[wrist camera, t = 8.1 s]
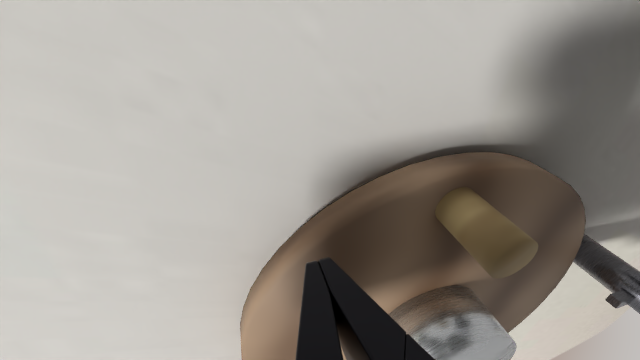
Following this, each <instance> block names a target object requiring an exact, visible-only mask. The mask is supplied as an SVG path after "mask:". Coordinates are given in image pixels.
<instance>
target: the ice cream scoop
mask: <svg viewBox="0 0 640 360" xmlns="http://www.w3.org/2000/svg"><path fill="white" fill-rule="evenodd" d="M573 262H574V263H575V264H577V265H578V266H579V267H581V268H582V269H583V270H584V271H586V272H587V273H588V274H589V275H591V276H592V277H593V278H595V279H596V280H597V281H598V282H600V283H601V284H602V285H604V286H605V287H606V288H607V289H609V290H610V291H611V292H613V293H612V294H610V295H609V296H608V297H607V298H606V301H607V302H608V303H610V304H611V305H612V306H613V307H615V308H619V307H621V306H624V305H627V304H628V305H629V306H630V307H632V308H633V309H634V310H636V311H637V312H638V313H639V314H640V271H638V270H637V269H635V268H634V267H632V266H631V265H629V264H628V263H626V262H625V261H624V260H622V259H621V258H619V257H618V256H616V255H615V254H613V253H612V252H610V251H609V250H607V249H606V248H604V247H603V246H601V245H600V244H599V243H597V242H596V241H594V240H593V239H591V238H590V237H588V236H587V235H585V234H584V235H583V239H582V242H581V245H580V248H579V250H578V252H577V254H576V256H575V259H574V261H573Z"/></svg>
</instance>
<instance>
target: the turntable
mask: <svg viewBox="0 0 640 360" xmlns="http://www.w3.org/2000/svg"><path fill="white" fill-rule="evenodd" d="M585 222H586V219H585V209H584V206H583V203H582V201H581V198H580V196H579V195H578V194H577V192H576V191H575V190H574V189H573V188H572V186H571V185H569V184H567V183H566V182H564V181H563V180H561V179H560V178H558V177H557V176H555V175H553V174H551V173H549V172H548V171H546V170H544V169H542V168H541V167H539V166H537V165H535V164H533V163H532V162H530V161H527V160H525V159H522V158H519V157H516V156H513V155H508V154H501V153H494V152H467V153H460V154H454V155H447V156H441V157H436V158H433V159H429V160H426V161H422V162H418V163H415V164H411V165H408V166H406V167H403V168H401V169H398V170H396V171H393V172H390V173H388V174H385V175H383V176H380V177H378V178H376V179H374V180H372V181H371V182H369V183H367V184H365V185H363V186H361V187H359V188H357V189H355V190H353V191H351V192H349V193H348V194H346V195H345V196H343V197H342V198H340V199H339V200H337V201H335V202H334V203H332V204H331V205H329V206H328V207H326V208H325V209H323V210H322V211H321V212H319V213H318V214H317V215H316V216H314V217H313V218H312V219H311V220H309V221H308V222H307V223H306V224H304V225H303V226H302V227H301V228H299V229H298V230H297V231H296V232H295V233H294V234H293V235H292V236H291V237H290V238H289V239H288V240H287V241H286V242H285V243H284V244H283V245H282V246H281V247H280V248H279V249H278V250H277V251H276V253H275V254H274V255H273V256H272V258H271V259H270V260H269V261H268V263H267V264H266V265H265V266H264V268H263V269H262V270H261V272H260V274H259V276H258V277H257V279H256V281H255V282H254V284H253V286H252V287H251V289H250V292H249V294H248V297H247V299H246V302H245V304H244V307H243V311H242V317H241V322H240V331H241V353H242V360H295V358H296V349H297V340H298V330H299V321H300V312H301V303H302V293H303V284H304V275H305V266H306V263H308V262H312V261H318V260H320V259H323V258H327V257H329V258H331V259H332V260H333V261H334V262H335V263H336V264H337V265H338V266H339V267H340V268H341V269H342V270H343V271H344V272H346V273H347V274H348V275H349V276H350V277H351V278H352V279H353V280H354V281H355V282H356V283H357V284H358V285H359V286H360V287H361V288H362V289H363V290H364V291H365V292H366V293H367V294H368V295H369V296H370V297H371V298H372V299H373V300H374V301H375V302H376V303H377V304H378V305H379V306H380V307H381V308H382V309H383V310H384V311H385V312H386V313H387V314H389V313H390V312H392V311H393V310H394V309H396V308H397V307H398V306H400V305H401V304H403V303H404V302H406V301H408V300H410V299H411V298H413V297H415V296H417V295H420V294H422V293H424V292H427V291H430V290H433V289H436V288H440V287H444V286H453V285H458V286H465V287H468V288H470V289H471V290H472V291H473V292H474V293H475V294H476V295H477V297H478V298H479V299H480V300H481V301H482V303H483V304H484V305H485V306H486V307H487V309H488V310H489V311H490V312H491V313H492V315H493V316H494V317H495V318H496V320H497V321H498V322H499V323H500V324H501V326H502V327H503V328H504V329H505V330H506V332H507V333H509V332H510V331H511V330H512V329H513V328H515V327H516V326H517V325H518V324H520V323H521V322H522V321H523V320H524V319H525V318H526V317H527V316H529V315H530V314H531V313H532V312H533V311H534V310H535V309H536V308H537V307H538V306H539V305H540V304H541V303H542V302H543V301H544V300H545V299H546V298H547V296H548V295H549V294H550V293H551V292H552V291H553V290H554V288H555V287H556V286H557V285H558V283H559V282H560V281H561V279H562V278H563V276H564V275H565V274H566V272H567V270H568V269H569V267H570V266H571V264H572V262H573V261H574V259H575V256H576V254H577V252H578V250H579V248H580V245H581V242H582V239H583V235H584V230H585ZM341 350H342V347H341ZM342 355H343V360H346V357H345V355H344V352H343V350H342Z"/></svg>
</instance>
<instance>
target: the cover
mask: <svg viewBox="0 0 640 360" xmlns="http://www.w3.org/2000/svg"><path fill="white" fill-rule="evenodd" d="M388 315H389V316H390V317H391V318H392V319H393V320H394V321H395V322H397V323H398V324H399V325H400V326H401V327H402V328H403V329H404V330H405V331H406V334H409V335H410V336H411V337H412V338H413V339H414V340H415V341H416V342H417V343H418V344H419V345H420V346H421V347H422V348H423V349H425V350H426V351H427V352H428V353H429V354H430V355H431V356H432V357H433V358H434V359H435V360H510V359H511V358H512V356H513V355H514V353H515V351H516V343H515V341H514V340H513V339H512V338H511V337H510V335H509V334H508V333H507V332H506V330H505V329H504V328H503V327H502V326H501V324H500V323H499V322H498V321H497V320H496V318H495V317H494V316H493V315H492V313H491V312H490V311H489V310H488V309H487V307H486V306H485V305H484V304H483V303H482V301H481V300H480V299H479V298H478V297H477V295H476V294H475V293H474V292H473V291H472V290H471V289H470V288H468V287H465V286H458V285H453V286H444V287H440V288H436V289H433V290H430V291H427V292H424V293H422V294H420V295H417V296H415V297H413V298H411V299H410V300H408V301H406V302H404V303H403V304H401V305H400V306H398V307H397V308H396V309H394V310H393V311H392V312H390V313H389V314H388Z"/></svg>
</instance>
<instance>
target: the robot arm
mask: <svg viewBox="0 0 640 360" xmlns="http://www.w3.org/2000/svg"><path fill="white" fill-rule="evenodd" d="M341 347H342V350H343V352H344V355H345V357H346V360H435V359H434V358H433V357H432V356H431V355H430V354H429V353H428V352H427V351H426V350H425V349H423V348H422V347H421V346H420V345H419V344H418V343H417V342H416V341H415V340H414V339H413V338H412V337H411V336H410V335H409V334H406V331H405V330H404V329H403V328H402V327H401V326H400V325H399V324H398V323H397V322H395V321H394V320H393V319H392V318H391V317H390V316H389V315H388V314H387V313H386V312H385V311H384V310H383V309H382V308H381V307H380V306H379V305H378V304H377V303H376V302H375V301H374V300H373V299H372V298H371V297H370V296H369V295H368V294H367V293H366V292H365V291H364V290H363V289H362V288H361V287H360V286H359V285H358V284H357V283H356V282H355V281H354V280H353V279H352V278H351V277H350V276H349V275H348V274H347V273H346V272H344V271H343V270H342V269H341V268H340V267H339V266H338V265H337V264H336V263H335V262H334V261H333V260H332V259H331V258H329V257H327V258H323V259H320V260H318V261H312V262H308V263H306V266H305V275H304V284H303V293H302V303H301V312H300V321H299V330H298V340H297V349H296V358H295V360H343V355H342V350H341Z"/></svg>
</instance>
